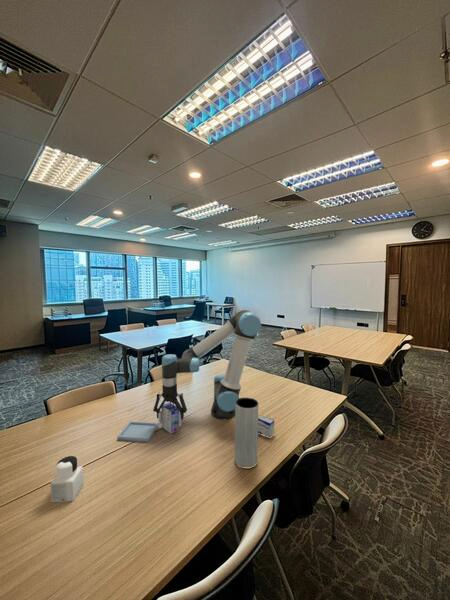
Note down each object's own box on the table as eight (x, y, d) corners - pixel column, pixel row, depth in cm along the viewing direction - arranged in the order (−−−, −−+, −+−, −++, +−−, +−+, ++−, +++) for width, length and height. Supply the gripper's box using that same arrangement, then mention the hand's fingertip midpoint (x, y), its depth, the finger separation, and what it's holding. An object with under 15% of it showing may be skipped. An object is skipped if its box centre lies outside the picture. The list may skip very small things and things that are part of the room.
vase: (251, 473, 105) (252, 410, 103) (230, 463, 111) (231, 404, 109) (260, 459, 114) (262, 400, 112) (241, 451, 119) (242, 395, 117)
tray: (158, 426, 138) (158, 422, 138) (148, 442, 124) (148, 438, 124) (130, 424, 140) (130, 421, 140) (117, 440, 126) (117, 436, 126)
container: (62, 485, 98) (61, 453, 97) (83, 484, 99) (82, 452, 98) (50, 503, 90) (49, 468, 89) (73, 501, 91) (72, 467, 90)
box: (256, 433, 133) (257, 418, 132) (261, 429, 136) (261, 414, 136) (270, 439, 128) (270, 423, 127) (274, 435, 131) (274, 419, 131)
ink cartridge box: (180, 430, 134) (179, 403, 133) (171, 434, 130) (170, 407, 129) (169, 422, 141) (169, 397, 140) (161, 426, 137) (160, 401, 136)
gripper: (192, 382, 137) (193, 421, 138) (151, 380, 139) (152, 419, 140) (189, 387, 129) (189, 429, 131) (145, 386, 131) (146, 427, 133)
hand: (170, 424), depth 136 cm, fingers closed on ink cartridge box, 10 cm apart
